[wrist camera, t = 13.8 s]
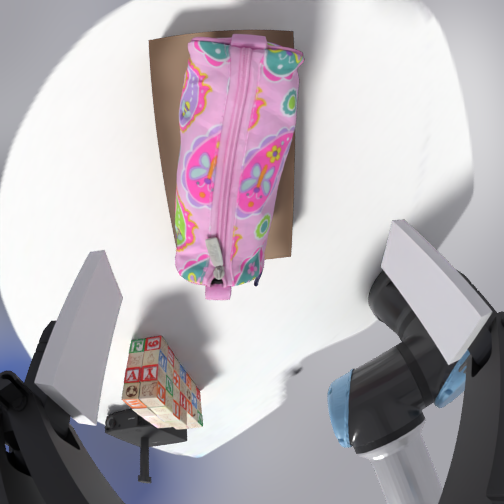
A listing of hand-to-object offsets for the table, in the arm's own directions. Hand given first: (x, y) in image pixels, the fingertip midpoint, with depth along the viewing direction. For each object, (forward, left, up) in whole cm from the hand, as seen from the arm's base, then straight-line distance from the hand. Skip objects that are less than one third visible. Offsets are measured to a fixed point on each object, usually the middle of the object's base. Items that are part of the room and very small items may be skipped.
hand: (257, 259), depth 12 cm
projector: (+30, +66, -21) cm, 75 cm away
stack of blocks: (+15, +40, -21) cm, 47 cm away
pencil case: (0, 0, -17) cm, 17 cm away
